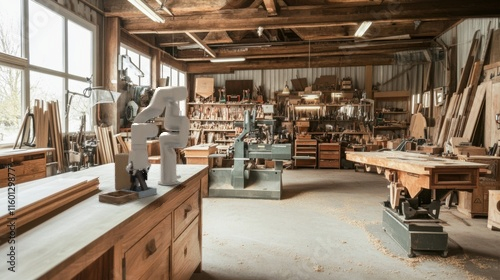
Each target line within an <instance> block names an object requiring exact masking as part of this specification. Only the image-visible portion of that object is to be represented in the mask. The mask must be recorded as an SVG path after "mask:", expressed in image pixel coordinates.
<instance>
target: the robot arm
mask: <svg viewBox="0 0 500 280" xmlns="http://www.w3.org/2000/svg"><path fill="white" fill-rule="evenodd" d="M188 96H189V90H188V88H187V87H186V86H184V85H182V86H181V85H179V86H178V85H174V86H172V85H171V86H170V85H169V86H164V87H162V86H160V87H157V88H156V89H155V90H154V93H153V95H152V98H151V99H150V101H149V104H148V105H147V107H145V108H144V109H143V110H141V111H140V112H139V113H138V114H137V115H136V116H135V117H134V119H133V121H132V123H131V126H130V142H131V143H130V149H131V150H129V152H128V153H129V160H128V166H127V167H126V170H127V171H128V173H129V175H130V182H131V183H136V175H135V173H136V170H143V176H144V179H145V181H148V174H149V171H150V169H151V167H152V163H150V162H149V152H148V149H147V148H148V144H147V138H155V137H157V135H158V133H159V126H158V125H156V123H151V122H150V123H149V122H147V121H149V120H151V119H153V118H156V117H159V116H160V115H162V114H163V113H164V119H163V128H164V129H165V130H167V131H168V132H167V131H166V132H162V133H161V134H160V135H159V137H158V144H159V150H160V151H159V153H160V180H159V181H157V184H158V185H161V186H173V185H174V186H175V185H178V184H179V183H180V181H179V179H181V178H182V177H181V175H180V174H179V175H177V153H176V151H175V149H185V148H186V147H187V145H188V143H189V135H190V127H191V124H190V119H189V118H188V116H187V115H180V106H179V104H178V103H177V102H182V101H186V100H187V99H188V98H189V97H188ZM164 111H165V112H164ZM146 122H147V123H146ZM170 131H171V132H170ZM172 131H174V132H172Z"/></svg>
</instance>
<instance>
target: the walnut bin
mask: <svg viewBox="0 0 500 280" xmlns="http://www.w3.org/2000/svg"><path fill="white" fill-rule="evenodd" d="M112 191H113V192H109V193H104V192H103V193H104V194H101V193H99V194H98V202H102V203H108V204H112V205H113V204H114V205H120V204H124V203H127V202H131V201H134V200H138V199H139V198H138V193H137V192H130V191H123V190H112Z"/></svg>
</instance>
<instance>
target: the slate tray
mask: <svg viewBox="0 0 500 280" xmlns="http://www.w3.org/2000/svg"><path fill="white" fill-rule="evenodd" d="M148 189H149V190H145V191H141V188H140V185H139V186H137V188H136V191H141V192H137V193H138V199H143V198H145V197H150V196H152V195H153V196H154V195H157V193H158V192H157V190H158V189H157V187H152V186H148ZM122 190H123V191H129V190H130V188H127V189H122ZM130 192H135V191H130Z"/></svg>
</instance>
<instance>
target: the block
mask: <svg viewBox="0 0 500 280" xmlns="http://www.w3.org/2000/svg"><path fill="white" fill-rule="evenodd" d="M129 153H130V152H121V153H116V154H115V155H114V191H118V190H122V189H127V188H130V187H131V184H132V183H131V182H130V175H129V173H128V171H127V170H126V167H127V166H128V160H129ZM136 171H137V170H136ZM138 174H139V173H138ZM137 186H140V184H139V181H138V184H137Z"/></svg>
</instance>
